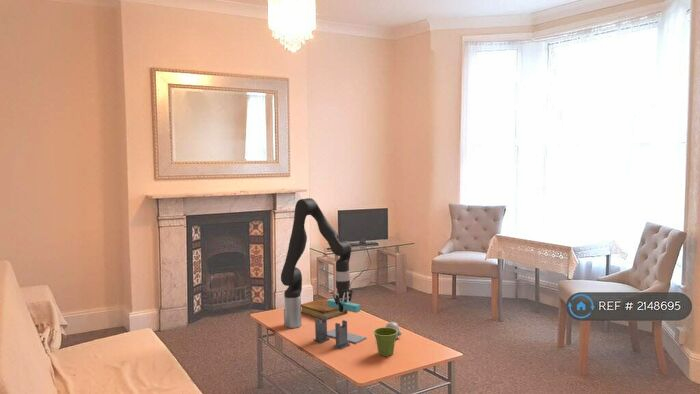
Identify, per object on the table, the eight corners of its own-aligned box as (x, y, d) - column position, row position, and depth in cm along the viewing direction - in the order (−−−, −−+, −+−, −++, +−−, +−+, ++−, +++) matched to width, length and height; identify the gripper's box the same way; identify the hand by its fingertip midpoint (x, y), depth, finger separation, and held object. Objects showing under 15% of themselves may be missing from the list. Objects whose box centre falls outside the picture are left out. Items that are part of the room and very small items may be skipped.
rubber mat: (322, 335, 296) (322, 333, 296) (333, 330, 303) (333, 329, 303) (355, 343, 281) (355, 342, 281) (366, 338, 288) (366, 337, 288)
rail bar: (327, 306, 296) (327, 300, 295) (331, 305, 298) (331, 298, 298) (356, 312, 283) (356, 306, 283) (360, 311, 286) (360, 304, 285)
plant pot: (369, 352, 269) (368, 330, 268) (389, 347, 275) (388, 325, 274) (382, 360, 259) (381, 337, 258) (402, 355, 264) (402, 332, 264)
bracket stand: (313, 341, 286) (312, 318, 285) (322, 337, 291) (321, 314, 290) (341, 349, 274) (340, 325, 273) (349, 345, 279) (349, 321, 278)
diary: (347, 314, 334) (347, 305, 333) (324, 321, 321) (324, 312, 321) (323, 307, 351) (323, 298, 350) (300, 313, 338) (299, 304, 337)
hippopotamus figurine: (379, 344, 287) (374, 331, 285) (395, 331, 294) (390, 318, 291) (389, 347, 282) (384, 334, 279) (404, 334, 288) (399, 320, 286)
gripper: (345, 275, 297) (346, 306, 299) (328, 280, 286) (329, 313, 288) (356, 277, 292) (357, 308, 294) (339, 282, 282) (340, 315, 283)
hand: (343, 310), depth 291 cm, fingers closed on rail bar, 3 cm apart
